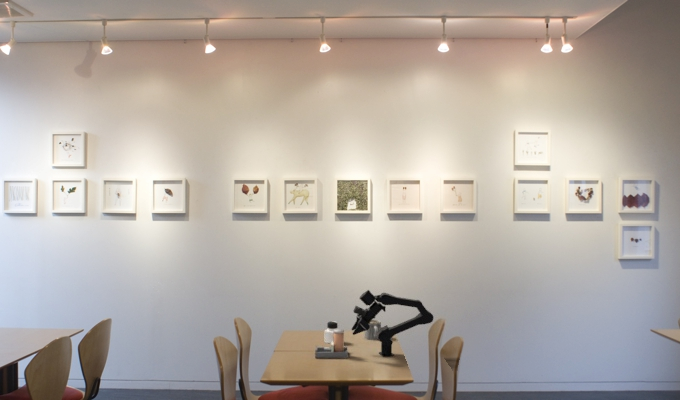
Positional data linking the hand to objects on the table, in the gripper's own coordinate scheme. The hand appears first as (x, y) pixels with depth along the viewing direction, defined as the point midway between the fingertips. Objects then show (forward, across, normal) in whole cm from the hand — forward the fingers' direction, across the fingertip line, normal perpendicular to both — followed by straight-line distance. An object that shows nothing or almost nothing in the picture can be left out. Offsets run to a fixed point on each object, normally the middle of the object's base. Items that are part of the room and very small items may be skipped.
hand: (352, 332), depth 256 cm
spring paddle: (+17, 0, -1) cm, 17 cm away
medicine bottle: (+16, -25, +1) cm, 30 cm away
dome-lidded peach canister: (+14, 0, +3) cm, 14 cm away
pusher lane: (+17, 0, +1) cm, 17 cm away
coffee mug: (-1, -32, +19) cm, 38 cm away
